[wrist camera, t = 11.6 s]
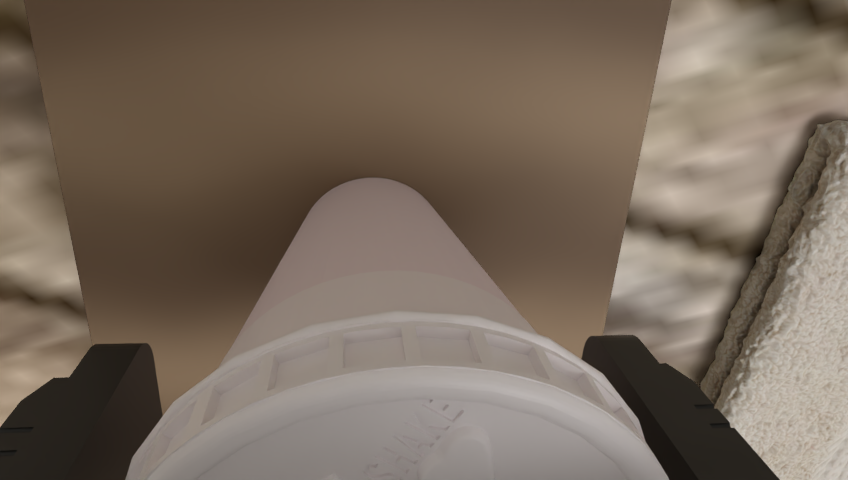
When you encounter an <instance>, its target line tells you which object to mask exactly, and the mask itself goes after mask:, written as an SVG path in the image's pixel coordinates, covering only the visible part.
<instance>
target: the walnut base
mask: <svg viewBox="0 0 848 480" xmlns="http://www.w3.org/2000/svg"><path fill="white" fill-rule="evenodd" d="M24 2H25V7H26V12H27V18H28V23H29V28H30V33H31V38H32V43H33V48H34V53H35V58H36V63H37V68H38V73H39V78H40V83H41V88H42V93H43V98H44V103H45V108H46V113H47V119H48V124H49V129H50V134H51V139H52V144H53V149H54V154H55V159H56V164H57V169H58V174H59V179H60V184H61V189H62V194H63V199H64V204H65V209H66V214H67V220H68V225H69V230H70V235H71V240H72V245H73V250H74V255H75V260H76V265H77V270H78V275H79V280H80V285H81V290H82V295H83V300H84V305H85V310H86V315H87V321H88V326H89V331H90V336H91V341H92V346H93V345H95V344H121V343H147V344H149V345H150V347H151V349H152V352H153V356H154V362H155V369H156V375H157V382H158V388H159V395H160V402H161V408H162V415H164V414H165V412H166V411H167V410H168V408H169V407H170V406H171V404H172V403H173V402H174V401H175V400H176V399H178V398H179V397H180V396H182V395H183V394H184V393H186V392H187V391H188V390H190V389H191V388H192V387H194V386H195V385H196V384H198V383H199V382H200V381H202V380H203V379H204V378H206V377H207V376H208V375H210V374H211V373H212V372H214V371H215V370H216V369H218V368H219V366H220V364H221V362H222V360H223V359H224V357H225V356H226V354H227V353H228V351H229V350H230V348H231V347H232V345H233V343H234V342H235V340H236V338H237V336H238V335H239V333H240V331H241V329H242V328H243V326H244V324H245V322H246V321H247V319H248V317H249V315H250V314H251V312H252V310H253V308H254V307H255V305H256V303H257V302H258V300H259V298H260V296H261V295H262V293H263V291H264V289H265V288H266V286H267V284H268V282H269V281H270V279H271V277H272V275H273V274H274V272H275V270H276V268H277V267H278V265H279V263H280V262H281V260H282V258H283V256H284V255H285V253H286V251H287V249H288V248H289V246H290V244H291V242H292V241H293V239H294V237H295V235H296V234H297V232H298V230H299V229H300V227H301V225H302V223H303V222H304V220H305V218H306V216H307V215H308V213H309V211H310V210H311V208H312V207H313V206H314V204H315V203H316V202H317V201H318V200H319V199H320V198H321V197H322V196H323V195H324V194H326V193H327V192H328V191H330V190H331V189H333V188H335V187H337V186H339V185H341V184H343V183H346V182H348V181H352V180H356V179H361V178H385V179H390V180H394V181H397V182H400V183H402V184H405V185H407V186H409V187H411V188H412V189H414V190H415V191H417V192H418V193H419V194H421V195H422V196H423V197H424V198H425V199H426V200H427V201H428V202H429V204H430V205H431V206H432V207H433V208H434V210H435V211H436V212H437V213H438V214H439V216H440V217H441V218H442V219H443V221H444V222H445V223H446V224H447V225H448V227H449V228H450V229H451V230H452V232H453V233H454V234H455V235H456V236H457V238H458V239H459V240H460V241H461V242H462V244H463V245H464V246H465V247H466V249H467V250H468V251H469V252H470V253H471V255H472V256H473V257H474V258H475V260H476V261H477V262H478V263H479V264H480V266H481V267H482V268H483V269H484V271H485V272H486V273H487V274H488V275H489V277H490V278H491V279H492V280H493V282H494V283H495V284H496V285H497V286H498V288H499V289H500V290H501V291H502V292H503V294H504V295H505V296H506V297H507V299H508V300H509V301H510V302H511V303H512V305H513V306H514V307H515V308H516V310H517V311H518V312H519V313H520V314H521V316H522V317H523V318H524V319H525V320H526V321H527V322H528V323H529V324H530V325H531V327H532V328H533V329H534V330H535V331H536V332H537V334H539V335H542V336H545V337H548V338H550V339H551V340H553V341H554V342H556V343H557V344H559V345H560V346H562V347H563V348H565V349H566V350H568V351H570V352H571V353H573V354H574V355H576V356H577V357H579V358H580V359H582V354H583V349H584V345H585V342H586V340H587V339H588V338H589V337H590V336H603V331H604V326H605V321H606V316H607V311H608V306H609V302H610V297H611V292H612V287H613V282H614V277H615V272H616V268H617V263H618V258H619V253H620V248H621V243H622V238H623V234H624V229H625V224H626V219H627V214H628V209H629V204H630V200H631V195H632V190H633V185H634V180H635V175H636V170H637V166H638V161H639V156H640V151H641V146H642V141H643V136H644V132H645V127H646V122H647V117H648V112H649V107H650V102H651V97H652V93H653V88H654V83H655V78H656V73H657V68H658V63H659V59H660V54H661V49H662V44H663V39H664V34H665V29H666V25H667V20H668V15H669V10H670V5H671V0H24Z"/></svg>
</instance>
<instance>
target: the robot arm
mask: <svg viewBox="0 0 848 480" xmlns="http://www.w3.org/2000/svg"><path fill="white" fill-rule="evenodd" d="M582 360H583V361H585V362H586V363H588V364H589V365H591V366H592V367H594V368H595V369H597V370H598V371H600V372H601V373H603V374H604V376H605V377H606V378H607V380H608V381H609V382H610V383H611V385H612V386H613V387H614V389H615V390H616V391H617V392H618V394H619V395H620V396H621V398H622V399H623V400H624V401H625V403H626V404H627V405H628V407H629V408H630V409H631V410H632V412H633V413H634V414H635V416H636V417H637V418H638V419H639V422H640V425H641V429H642V432H643V435H644V438H645V442H646V443H647V445H648V446H649V448H650V449H651V451H652V452H653V454H654V455H655V457H656V458H657V460H658V462H659V463H660V465H661V466H662V468H663V470H664V471H665V473H666V474H667V476H668V478H669V480H780V479H779V478H778V477H777V476H776V475H775V474H774V472H773V471H772V470H771V469H770V468H769V467H768V466H767V464H766V463H765V462H764V461H763V460H762V459H761V458H760V456H759V455H758V454H757V453H756V452H755V451H754V450H753V448H752V447H751V446H750V445H749V444H748V443H747V442H746V440H745V439H744V438H743V437H742V436H741V435H740V434H739V432H738V431H737V430H736V429H735V428H731V427H730V422H729V421H728V420H727V419H726V418H725V416H724V415H723V414H722V413H721V412H720V411H719V410H718V409H714V404H713V403H712V402H711V400H710V399H709V398H708V397H707V396H706V395H705V394H704V392H703V391H702V390H701V389H700V388H699V387H698V386H697V384H696V383H695V382H694V381H692V380H691V379H689V378H688V377H686V376H685V375H683V374H682V373H680V372H679V371H677V370H676V369H674V368H673V367H671V366H670V365H668V364H667V363H664V364H659V362H658V361H657V360H656V359H655V358H654V356H653V355H652V354H651V353H650V352H649V350H648V349H647V348H646V347H645V346H644V344H643V343H642V342H641V341H640V340H639V339H638V338H637V337H636V336H634V335H609V336H590V337H589V338H588V339H587V340H586V342H585V345H584V349H583V354H582ZM162 416H163V415H162V408H161V402H160V395H159V388H158V382H157V375H156V369H155V362H154V356H153V352H152V349H151V347H150V345H149V344H147V343H121V344H95V345H93V346H92V347H91V348H90V349H89V350H88V352H87V353H86V355H85V356H84V358H83V359H82V360H81V362H80V363H79V365H78V366H77V367H76V369H75V370H74V372H73V373H72V374H71V376H70V377H69V378H53V379H52V380H50V381H49V382H47V383H46V384H44V385H43V386H42V387H40V388H39V389H37V390H36V391H34V392H33V393H32V394H30V395H29V396H27V397H26V398H24V399H23V400H22V401H21V402H20V403H19V404H18V405H17V407H16V408H15V409H14V410H13V412H12V413H11V414H10V416H9V417H8V418H7V419H6V421H5V422H4V423H3V424H2V426H1V427H0V480H125V479H126V476H127V473H128V470H129V466H130V463H131V460H132V457H133V456H134V454H135V453H136V452H137V450H138V449H139V448H140V446H141V445H142V443H143V442H144V441H145V439H146V438H147V437H148V435H149V434H150V433H151V431H152V430H153V429H154V427H155V426H156V425H157V423H158V422H159V421H160V419H161V418H162Z"/></svg>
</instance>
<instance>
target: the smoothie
mask: <svg viewBox="0 0 848 480" xmlns="http://www.w3.org/2000/svg"><path fill="white" fill-rule="evenodd" d="M125 480H669V478H668V476H667V474H666V473H665V471H664V470H663V468H662V466H661V465H660V463H659V462H658V460H657V458H656V457H655V455H654V454H653V452H652V451H651V449H650V448H649V446H648V445H647V443H646V442H645V438H644V435H643V432H642V429H641V425H640V422H639V419H638V418H637V417H636V416H635V414H634V413H633V412H632V410H631V409H630V408H629V407H628V405H627V404H626V403H625V401H624V400H623V399H622V398H621V396H620V395H619V394H618V392H617V391H616V390H615V389H614V387H613V386H612V385H611V383H610V382H609V381H608V380H607V378H606V377H605V376H604V374H603V373H601V372H600V371H598V370H597V369H595V368H594V367H592V366H591V365H589V364H588V363H586V362H585V361H583V360H582V359H580V358H579V357H577V356H576V355H574V354H573V353H571V352H570V351H568V350H566V349H565V348H563V347H562V346H560V345H559V344H557V343H556V342H554V341H553V340H551V339H550V338H548V337H545V336H542V335H539V334H537V332H536V331H535V330H534V329H533V328H532V327H531V325H530V324H529V323H528V322H527V321H526V320H525V319H524V318H523V317H522V316H521V314H520V313H519V312H518V311H517V310H516V308H515V307H514V306H513V305H512V303H511V302H510V301H509V300H508V299H507V297H506V296H505V295H504V294H503V292H502V291H501V290H500V289H499V288H498V286H497V285H496V284H495V283H494V282H493V280H492V279H491V278H490V277H489V275H488V274H487V273H486V272H485V271H484V269H483V268H482V267H481V266H480V264H479V263H478V262H477V261H476V260H475V258H474V257H473V256H472V255H471V253H470V252H469V251H468V250H467V249H466V247H465V246H464V245H463V244H462V242H461V241H460V240H459V239H458V238H457V236H456V235H455V234H454V233H453V232H452V230H451V229H450V228H449V227H448V225H447V224H446V223H445V222H444V221H443V219H442V218H441V217H440V216H439V214H438V213H437V212H436V211H435V210H434V208H433V207H432V206H431V205H430V204H429V202H428V201H427V200H426V199H425V198H424V197H423V196H422V195H421V194H419V193H418V192H417V191H415V190H414V189H412V188H411V187H409V186H407V185H405V184H402V183H400V182H397V181H394V180H390V179H385V178H361V179H356V180H352V181H348V182H346V183H343V184H341V185H339V186H337V187H335V188H333V189H331V190H330V191H328V192H327V193H326V194H324V195H323V196H322V197H321V198H320V199H319V200H318V201H317V202H316V203H315V204H314V206H313V207H312V208H311V210H310V211H309V213H308V215H307V216H306V218H305V220H304V222H303V223H302V225H301V227H300V229H299V230H298V232H297V234H296V235H295V237H294V239H293V241H292V242H291V244H290V246H289V248H288V249H287V251H286V253H285V255H284V256H283V258H282V260H281V262H280V263H279V265H278V267H277V268H276V270H275V272H274V274H273V275H272V277H271V279H270V281H269V282H268V284H267V286H266V288H265V289H264V291H263V293H262V295H261V296H260V298H259V300H258V302H257V303H256V305H255V307H254V308H253V310H252V312H251V314H250V315H249V317H248V319H247V321H246V322H245V324H244V326H243V328H242V329H241V331H240V333H239V335H238V336H237V338H236V340H235V342H234V343H233V345H232V347H231V348H230V350H229V351H228V353H227V354H226V356H225V357H224V359H223V360H222V362H221V364H220V366H219V368H218V369H216V370H215V371H214V372H212V373H211V374H210V375H208V376H207V377H206V378H204V379H203V380H202V381H200V382H199V383H198V384H196V385H195V386H194V387H192V388H191V389H190V390H188V391H187V392H186V393H184V394H183V395H182V396H180V397H179V398H178V399H176V400H175V401H174V402H173V403H172V404H171V406H170V407H169V408H168V410H167V411H166V412H165V414H164V415H163V416H162V418H161V419H160V421H159V422H158V423H157V425H156V426H155V427H154V429H153V430H152V431H151V433H150V434H149V435H148V437H147V438H146V439H145V441H144V442H143V443H142V445H141V446H140V448H139V449H138V450H137V452H136V453H135V454H134V456H133V457H132V460H131V463H130V466H129V470H128V473H127V476H126V479H125Z"/></svg>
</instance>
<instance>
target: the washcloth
mask: <svg viewBox="0 0 848 480" xmlns="http://www.w3.org/2000/svg"><path fill="white" fill-rule="evenodd" d="M817 128H818V129H816V130H815V134H814V136H812V137H811V138H809V140H808V148H807V149H806V152H805V156H804V159H803V161H802V163H801V164H800V166H799V167H798V169H797V170H796V172H795V174H794V178H793V181H792V182H791V183H790V185H789V186H788V190H789V192H788V193H787V195H786V197H785V198H784V200H783V204H782V205H781V206H780V207H779V208H778V209H777V214H776V215H775V218H774V221H773V223H772V226H771V230H770V233H769V235H768V236H767V238H766V239H765V242H764V246H763V249H762V252H761V255H760V256H758V257H757V258H756V264H755V266H754V267H753V268H752V270H751V272H750V274H749V276H748V279H747V280H746V282H745V283H744V285H743V287H742V289H741V291H740V293H741V297H740V298H739V300H738V302H737V303H736V306H735V307H734V309H733V310H732V311H731V312H730V314H731V317H730V318H729V319H728V325H727V327H726V328H725V331H724V338H723V340H722V341H721V342H720V343H719V345H718V347H717V349H716V351H715V357H716V358H715V360H714V361H713V363H712V364H711V365H710V367H709V369H708V372H707V374H706V375H705V377H704V378H703V380H702V382H701V390H702V391H703V392H704V394H705V395H706V396H707V397H708V398H709V399H710V400H711V402H712V403H713V404H714V409H718V410H719V411H720V412H721V413H722V414H723V415H724V416H725V418H726V419H727V420H728V421H729V422H730V427H731V428H735V429H736V430H737V431H738V432H739V434H740V435H741V436H742V437H743V438H744V439H745V440H746V442H747V443H748V444H749V445H750V446H751V447H752V448H753V450H754V451H755V452H756V453H757V454H758V455H759V456H760V458H761V459H762V460H763V461H764V462H765V463H766V464H767V466H768V467H769V468H770V469H771V470H772V471H773V472H774V474H775V475H776V476H777V477H778V478H779V479H780V480H848V121H843V120H834V121H833V122H830V123H825V124H824V125H823V124H817Z"/></svg>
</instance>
